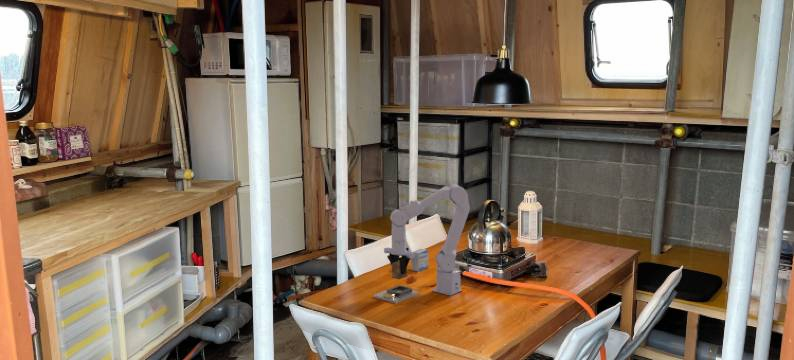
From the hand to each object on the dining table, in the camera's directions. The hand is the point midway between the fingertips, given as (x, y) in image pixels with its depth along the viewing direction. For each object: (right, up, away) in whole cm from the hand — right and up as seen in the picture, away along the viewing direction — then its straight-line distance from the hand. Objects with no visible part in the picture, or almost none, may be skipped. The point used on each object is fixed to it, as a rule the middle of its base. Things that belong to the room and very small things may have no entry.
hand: (399, 272), depth 247 cm
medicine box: (+10, -4, +36) cm, 37 cm away
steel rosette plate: (-1, -9, -1) cm, 9 cm away
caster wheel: (+61, -5, +24) cm, 66 cm away
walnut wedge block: (0, -2, 0) cm, 2 cm away
